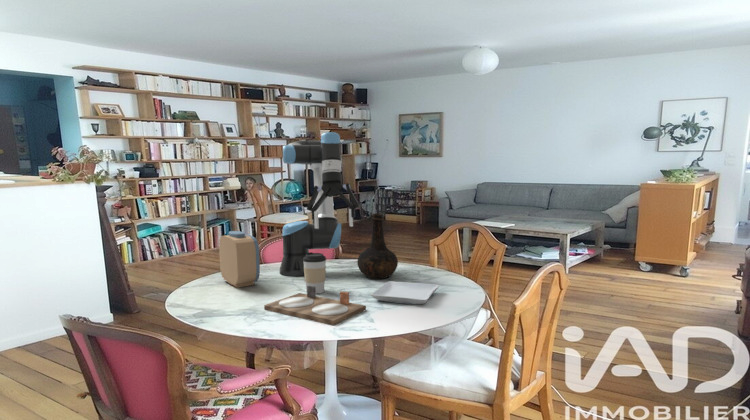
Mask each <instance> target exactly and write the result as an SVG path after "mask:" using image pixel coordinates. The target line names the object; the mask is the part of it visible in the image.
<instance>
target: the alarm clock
mask: <svg viewBox="0 0 750 420" xmlns="http://www.w3.org/2000/svg"><path fill="white" fill-rule="evenodd" d="M218 244H219V245H218V250H219V251H218V253H219V269H220V274H221V277H222V278H223V280H225V281H226V283H228V284H229V285H231V286H233V287H235V288H242V287H247V286H253V285H255V282H258V280H259V279H260V275H261V274H260V273H261V270H260V269H261V268H260V267H261V265H260V264H261V263H260V247H259V242H258V240H257V238H256V237H254V236H253V235H250V234H247V233H245V232H244V231H239V230H232V231H231V230H230V231H228V234H227V235H226V234H225V235H220V237H219V243H218Z"/></svg>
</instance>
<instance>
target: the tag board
mask: <svg viewBox="0 0 750 420" xmlns="http://www.w3.org/2000/svg"><path fill="white" fill-rule="evenodd" d="M263 307H264V310H266V311H268V312H269V311H270V312H274V313H279V314H283V315H288V316H292V317H296V318H300V319H304V320H309V321H312V322H313V321H314V322H318V323H323V324H327V325H331V326H335V325H337V324H339V323H341V322H343V321H345V320H348V319H349V318H352V317H354V316H356V315H359V314H360V313H362V312H364V310H365V311H366V309H367V306H366V305H364V304H361V303H360V304H358V303H354V302H350V292H348V291H339V300H338V299H334V298H333V299H332V298H327V297H322V296H317V295H316V287H315V286H307V292H306V293H303V292H299V293H296V294H292V295H289V296H286V297H284V298H281V299H278V300H275V301H272V302H269V303H266V304H264V305H263Z"/></svg>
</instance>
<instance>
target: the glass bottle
mask: <svg viewBox="0 0 750 420" xmlns="http://www.w3.org/2000/svg"><path fill="white" fill-rule="evenodd" d="M371 216H372V217H371V218H370V220H372V225H371V226H372V227H371V228H372V229H371V241H370V247H368V248H366V249H365V250H363V251H362V252H361V253H359V255H358V257H357V267H358V269H359V271H360V272H361V273H362V275H363V276H365V277H367V278H368V279H373V280H377V279H379V280H382V279H386V278H388V277H391V276H392V275H393V274H394V273H395V272H396V271H397V268H398V266H399V265H398V264H399V263H398V262H399V261H398V257H397V255H396V254H395V252H394V251H392V250H391V249H389V248H388V247H387V245H386V241H385V234H384V226H383V225H384V223H383V221H384V220H385V218H384V217H383V214H382V213H372V214H371Z"/></svg>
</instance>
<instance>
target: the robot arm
mask: <svg viewBox="0 0 750 420" xmlns="http://www.w3.org/2000/svg"><path fill="white" fill-rule="evenodd" d="M341 142H342V141H341V136H340V134H339V133H337V132H334V131H333V132H332V131H331V132H330V131H328V132H323V133H322V134H321V136H320V140H305V139H304V140H303V139H302V140H297V141H296V140H295V141H294V142H290V143H288V144H284V145H282V162H283V163H284V164H289V165H295V164H297V165H308V166H309V168H310V170H312V171H313V193H312V195H311V198H310V200H309V202H308V204H307V207H306V210H307V211H310V212H311V219H312V223H309V221H308V220H300V221H299V220H298V221H292V222H288V223H286V224H284V225H283V227H282V234H281V236H282V259H281V264H280V266H279V274H280V275H282V276H286V277H299V276H305V275H304V261H303V258H304V257H305V256H306V254H307V253H310V250H325V249H327V250H330V249H337V248H338V247H339V246H340V243H341V236H342V223H341V222H339V221H338V218H337V217H336V216H335V214H334V213H335V211H334V197H336V198H337V197H340V198H341V199H342V200H343V201H344V202H345V203H346V204H347V206H348V207H349V208H348V217H349V218H348V219H349V221H348V223H349V227H351V228H352V227H354V218H356V209H357V208H360V207H361V206H360V204H359V202H358V199H357V198H356V196H355V194H354V193H353V191H352V188H351V184H350V183H348V182H346V183H345V184H343V179H342V178H343V177H342V173H341V172H342V171H343V170H342V158H341V157H342V155H341V154H342V153H341V152H342V151H341ZM343 189H345V190H346V192H347V193H348V195H349V197H350V199H351V200H352V202H353V203H352V202H351V201H350V200H349V199H348V197H346V196H345V195H344V193H343V192H342V191H343Z"/></svg>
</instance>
